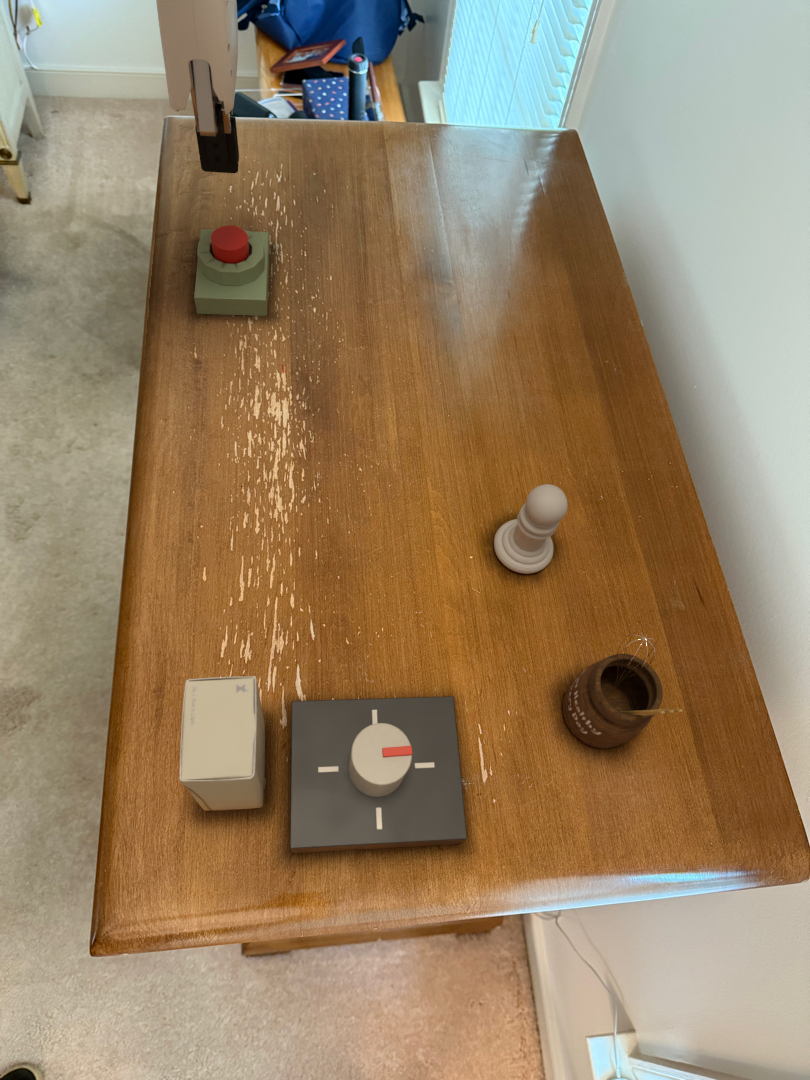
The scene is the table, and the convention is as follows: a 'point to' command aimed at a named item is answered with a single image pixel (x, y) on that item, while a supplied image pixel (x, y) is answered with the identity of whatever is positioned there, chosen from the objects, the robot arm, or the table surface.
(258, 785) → the cosmetic box
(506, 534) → the chess piece
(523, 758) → the table surface
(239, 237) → the power button
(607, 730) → the utensil holder
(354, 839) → the panel
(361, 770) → the hob knob
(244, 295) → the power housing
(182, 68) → the robot arm
